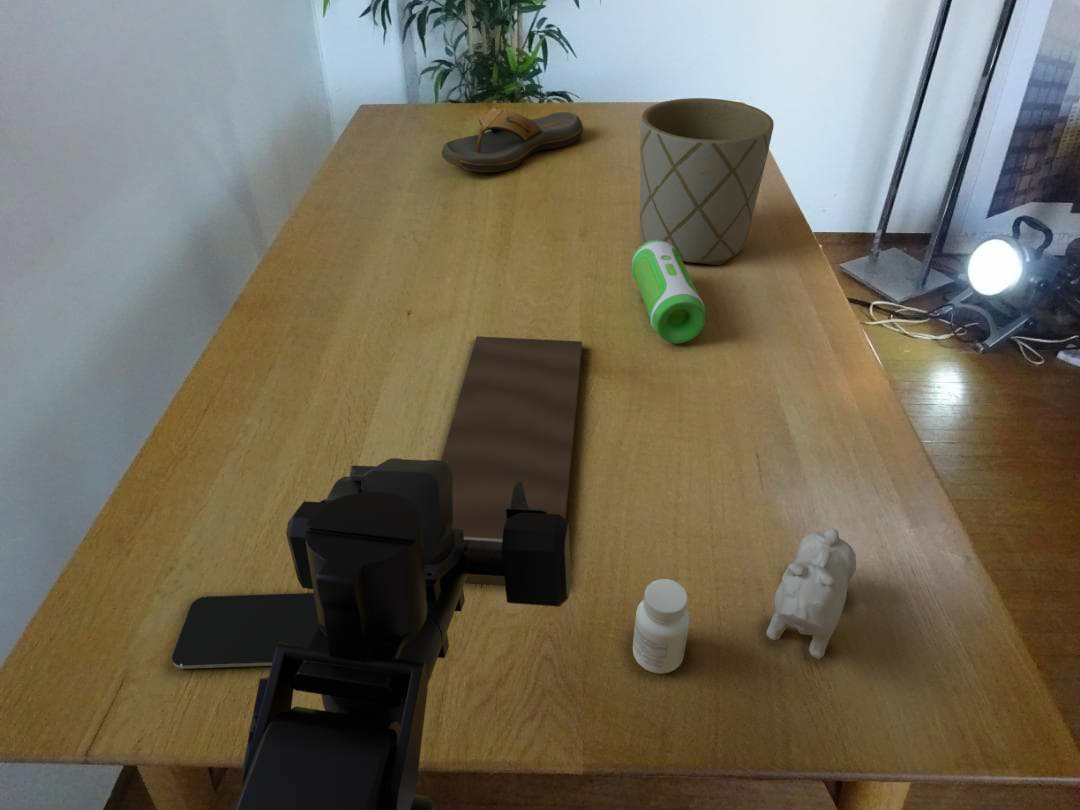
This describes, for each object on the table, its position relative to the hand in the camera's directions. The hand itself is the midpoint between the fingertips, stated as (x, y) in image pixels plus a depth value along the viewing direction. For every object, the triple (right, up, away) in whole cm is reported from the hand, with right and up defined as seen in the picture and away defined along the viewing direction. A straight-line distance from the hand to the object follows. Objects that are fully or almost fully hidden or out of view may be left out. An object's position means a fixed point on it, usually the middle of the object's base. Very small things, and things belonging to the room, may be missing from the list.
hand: (460, 483), depth 61 cm
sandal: (+1, +56, +100) cm, 114 cm away
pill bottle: (+16, -15, +8) cm, 24 cm away
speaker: (+23, +19, +52) cm, 60 cm away
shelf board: (+3, +2, +30) cm, 30 cm away
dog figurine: (+29, -14, +10) cm, 34 cm away
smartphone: (-18, -14, +10) cm, 25 cm away
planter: (+30, +32, +69) cm, 82 cm away
